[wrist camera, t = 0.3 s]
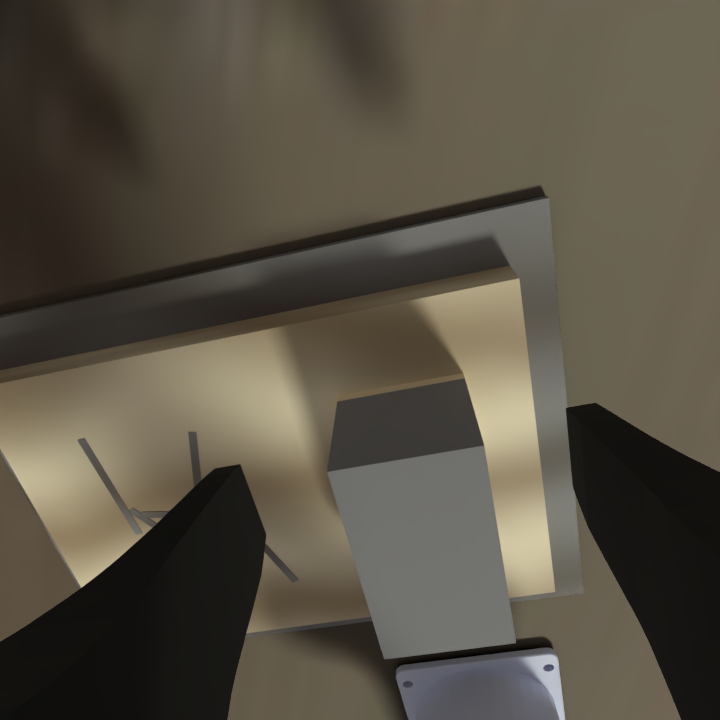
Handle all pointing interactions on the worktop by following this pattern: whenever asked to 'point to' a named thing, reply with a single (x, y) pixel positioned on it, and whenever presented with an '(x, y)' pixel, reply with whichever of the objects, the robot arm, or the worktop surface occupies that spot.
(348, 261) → the pine board
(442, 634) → the block
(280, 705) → the worktop surface
